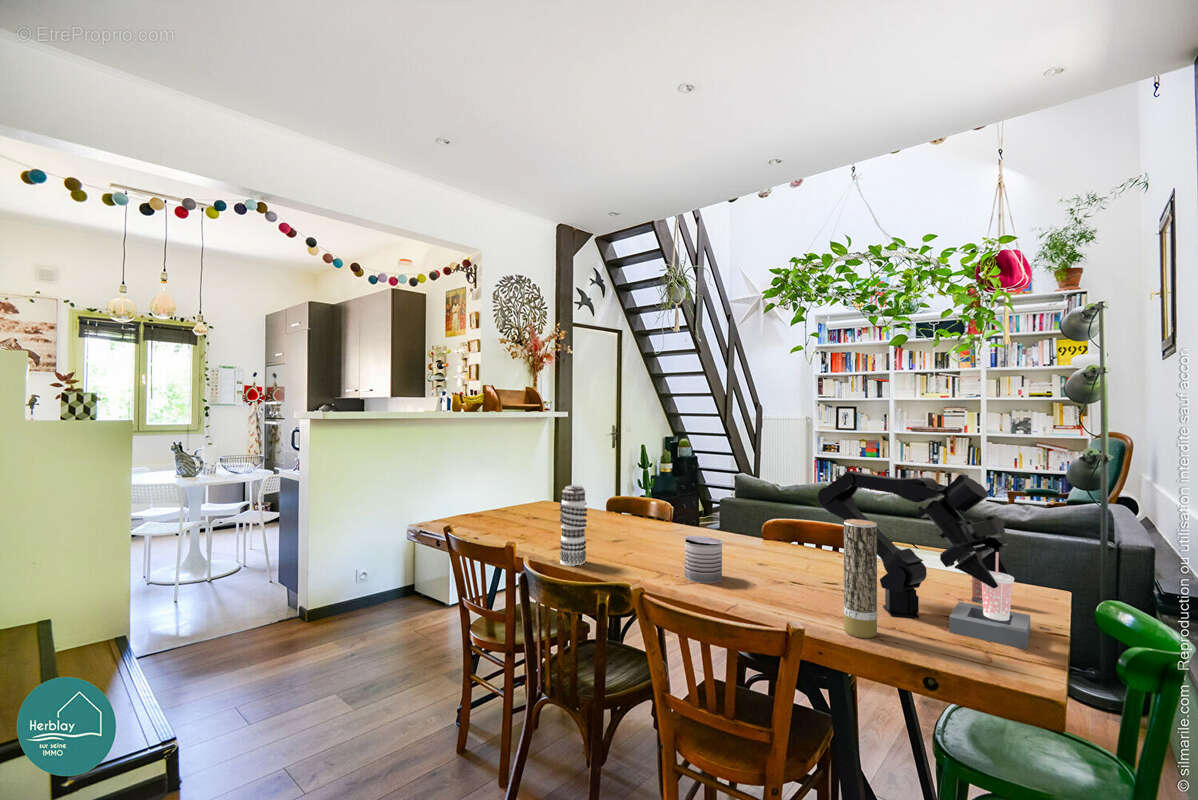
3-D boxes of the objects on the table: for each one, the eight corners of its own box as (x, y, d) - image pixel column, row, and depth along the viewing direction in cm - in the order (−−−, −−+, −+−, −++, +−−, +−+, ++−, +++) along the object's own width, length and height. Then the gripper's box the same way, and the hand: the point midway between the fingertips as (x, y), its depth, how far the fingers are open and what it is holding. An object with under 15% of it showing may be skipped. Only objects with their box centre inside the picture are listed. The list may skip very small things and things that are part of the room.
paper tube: (867, 627, 130) (867, 519, 130) (883, 639, 123) (883, 525, 123) (838, 627, 129) (838, 519, 130) (852, 639, 123) (852, 525, 123)
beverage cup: (1007, 613, 123) (1008, 550, 123) (1018, 623, 118) (1019, 557, 118) (975, 609, 125) (976, 547, 125) (984, 619, 120) (985, 554, 119)
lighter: (1009, 606, 146) (1009, 567, 146) (1007, 609, 143) (1006, 569, 143) (973, 598, 151) (973, 561, 152) (970, 601, 149) (969, 563, 149)
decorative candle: (557, 559, 187) (558, 484, 188) (584, 558, 189) (585, 484, 190) (560, 566, 178) (561, 488, 179) (589, 565, 180) (589, 487, 181)
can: (681, 572, 174) (681, 533, 174) (717, 572, 174) (717, 533, 174) (688, 583, 162) (688, 542, 162) (727, 583, 163) (727, 542, 163)
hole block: (1026, 649, 118) (1026, 632, 118) (949, 632, 127) (949, 616, 127) (1030, 630, 129) (1030, 615, 129) (958, 615, 138) (958, 601, 138)
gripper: (956, 506, 120) (1013, 572, 111) (999, 500, 130) (1055, 560, 120) (918, 535, 127) (969, 599, 117) (962, 527, 136) (1013, 585, 127)
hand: (1003, 585), depth 120 cm, fingers closed on beverage cup, 6 cm apart
